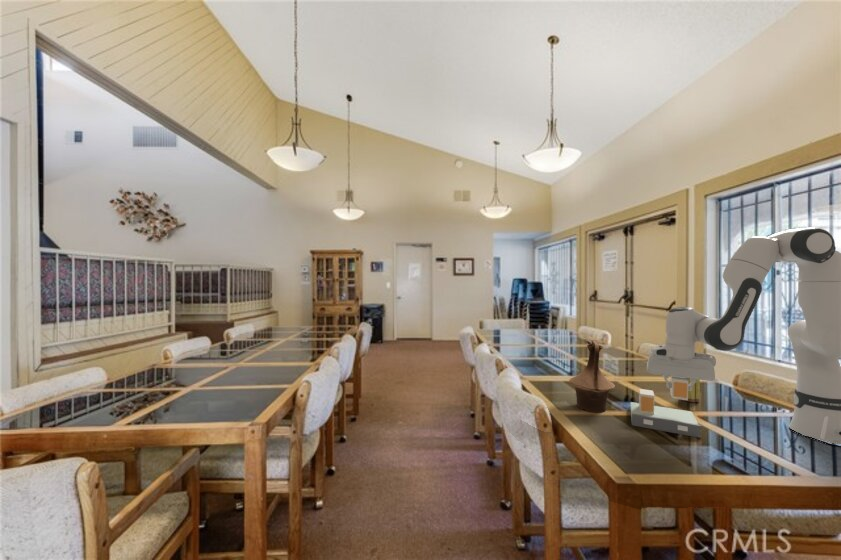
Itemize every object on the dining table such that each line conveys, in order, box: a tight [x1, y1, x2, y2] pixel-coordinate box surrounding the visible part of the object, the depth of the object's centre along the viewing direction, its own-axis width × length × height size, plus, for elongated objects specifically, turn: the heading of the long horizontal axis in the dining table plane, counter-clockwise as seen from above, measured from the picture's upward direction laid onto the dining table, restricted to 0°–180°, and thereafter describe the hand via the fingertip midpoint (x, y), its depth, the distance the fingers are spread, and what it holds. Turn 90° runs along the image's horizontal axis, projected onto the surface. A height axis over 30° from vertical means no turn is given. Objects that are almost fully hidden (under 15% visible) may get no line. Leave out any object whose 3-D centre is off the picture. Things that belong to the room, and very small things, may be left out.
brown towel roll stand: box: [568, 339, 616, 413], centre depth 146 cm, size 18×17×28 cm
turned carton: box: [669, 376, 688, 401], centre depth 131 cm, size 4×7×7 cm, turn 151°
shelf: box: [629, 401, 702, 439], centre depth 132 cm, size 20×17×4 cm
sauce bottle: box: [684, 378, 701, 403], centre depth 154 cm, size 6×6×20 cm
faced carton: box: [638, 388, 655, 414], centre depth 136 cm, size 4×7×7 cm, turn 151°
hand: (678, 388), depth 131 cm, fingers closed on turned carton, 4 cm apart
